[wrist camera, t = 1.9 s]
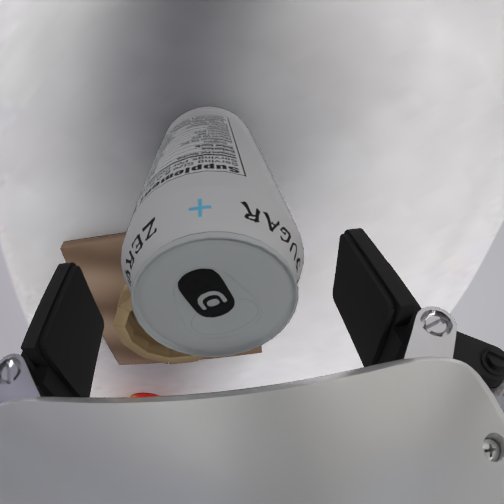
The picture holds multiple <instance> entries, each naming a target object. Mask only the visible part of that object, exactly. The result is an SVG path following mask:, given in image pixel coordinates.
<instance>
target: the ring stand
mask: <svg viewBox="0 0 504 504" xmlns="http://www.w3.org/2000/svg"><path fill="white" fill-rule="evenodd" d="M126 233H127V232H126ZM126 233H119V234H112V235H105V236H98V237H91V238H85V239H78V240H71V241H65V242H64V243H63V245H62V246H61V248H60V249H61V251H62V254H63V256H64V258H65V261H66V263H71V262H73V263H75V264H76V266H80V268H81V270H82V272H83V275H84V277H85V279H86V282H87V284H88V286H89V289H90V291H91V293H92V295H93V298H94V300H95V302H96V304H97V306H98V309H99V311H100V313H101V315H102V317H103V320H104V330H103V334H102V336H103V338H104V339H105V341H106V343H107V345H108V346H109V348H110V350H111V352H112V353H113V355H114V357H115V358H116V360H117V362H118V363H119V365H126V364H148V363H167V364H168V363H169V364H175V363H187V362H194V361H195V362H196V361H198V360H201V359H211V358H221V357H202V356H193V355H189V354H185V353H180V352H178V351H175V350H172V349H170V348H167V347H166V346H164V345H162V344H160V343H159V342H157V341H156V340H154V339H153V338H152V337H151V336H150V335H148V334H147V333H146V332H145V330H144V329H143V328H142V327H141V326H140V324H139V323H138V321H137V319H136V317H135V315H134V313H133V308H132V303H131V293H130V291H129V288H128V286H127V284H126V282H125V279H124V277H123V271H122V266H121V253H122V245H123V242H124V239H125V236H126ZM261 352H262V347H261V346H259V347H256V348H254V349H252V350H249V351H246V352H243V353H239V354H235V355H229V356H222V357H230V356H238V355H246V354H254V353H261Z"/></svg>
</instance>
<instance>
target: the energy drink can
mask: <svg viewBox="0 0 504 504" xmlns="http://www.w3.org/2000/svg"><path fill="white" fill-rule="evenodd" d="M303 263H304V248H303V244H302V240H301V236H300V233H299V231H298V229H297V226H296V224H295V222H294V220H293V218H292V216H291V214H290V212H289V210H288V207H287V205H286V203H285V201H284V199H283V197H282V195H281V193H280V191H279V189H278V187H277V185H276V183H275V181H274V179H273V177H272V175H271V173H270V171H269V169H268V167H267V165H266V163H265V161H264V159H263V157H262V155H261V153H260V151H259V149H258V147H257V145H256V143H255V141H254V139H253V137H252V135H251V133H250V131H249V130H248V128H247V126H246V125H245V123H244V122H243V121H242V120H241V119H240V118H239V117H238V116H236V115H235V114H233V113H232V112H230V111H227V110H225V109H222V108H218V107H200V108H195V109H192V110H190V111H187V112H185V113H184V114H182V115H181V116H179V117H178V118H177V119H176V120H175V121H174V122H173V123H172V124H171V125H170V127H169V128H168V130H167V132H166V134H165V136H164V139H163V141H162V143H161V145H160V148H159V150H158V152H157V155H156V157H155V159H154V162H153V164H152V167H151V169H150V172H149V174H148V177H147V179H146V182H145V184H144V187H143V189H142V192H141V194H140V197H139V200H138V202H137V205H136V208H135V211H134V213H133V216H132V219H131V222H130V225H129V227H128V230H127V233H126V236H125V239H124V242H123V245H122V253H121V266H122V271H123V277H124V279H125V282H126V284H127V286H128V288H129V291H130V293H131V303H132V308H133V313H134V315H135V317H136V319H137V321H138V323H139V324H140V326H141V327H142V328H143V329H144V330H145V332H146V333H147V334H148V335H150V336H151V337H152V338H153V339H154V340H156V341H157V342H159V343H160V344H162V345H164V346H166V347H167V348H170V349H172V350H175V351H178V352H180V353H185V354H189V355H193V356H202V357H222V356H229V355H235V354H239V353H243V352H246V351H249V350H252V349H254V348H256V347H259V346H261V345H263V344H264V343H266V342H268V341H269V340H271V339H272V338H274V337H275V336H276V335H277V334H278V333H280V332H281V331H282V330H283V329H284V327H285V326H286V325H287V324H288V323H289V321H290V319H291V318H292V316H293V314H294V312H295V309H296V306H297V302H298V285H297V284H298V281H299V279H300V275H301V271H302V267H303Z"/></svg>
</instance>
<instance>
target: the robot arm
mask: <svg viewBox="0 0 504 504" xmlns="http://www.w3.org/2000/svg"><path fill="white" fill-rule="evenodd" d="M333 299H334V302H335V304H336V306H337V308H338V310H339V312H340V315H341V317H342V319H343V321H344V323H345V325H346V328H347V330H348V332H349V334H350V336H351V339H352V341H353V343H354V345H355V347H356V350H357V352H358V354H359V356H360V359H361V361H362V363H363V366H364V367H363V368H359V369H354V370H350V371H345V372H340V373H335V374H330V375H325V376H320V377H315V378H310V379H304V380H299V381H293V382H287V383H281V384H275V385H268V386H261V387H254V388H246V389H239V390H230V391H221V392H211V393H201V394H189V395H174V396H156V397H127V398H89V397H90V391H91V386H92V381H93V376H94V371H95V366H96V361H97V356H98V352H99V347H100V343H101V339H102V334H103V330H104V320H103V317H102V315H101V313H100V311H99V309H98V306H97V304H96V302H95V300H94V298H93V295H92V293H91V291H90V289H89V286H88V284H87V282H86V279H85V277H84V275H83V272H82V270H81V268H80V266H76V264H75V263H73V262H71V263H63V264H59V265H58V267H57V269H56V271H55V273H54V275H53V277H52V279H51V281H50V283H49V285H48V287H47V289H46V291H45V293H44V295H43V297H42V299H41V301H40V304H39V306H38V308H37V310H36V312H35V315H34V317H33V319H32V321H31V324H30V326H29V328H28V331H27V333H26V336H25V338H24V341H23V343H22V346H21V349H22V350H23V352H22V354H21V356H20V355H19V354H10V355H7V356H5V357H4V358H3V359H1V360H0V504H504V351H502V350H501V349H500V348H498V347H496V346H493V345H490V344H488V343H485V342H483V341H480V340H478V339H475V338H473V337H470V336H468V335H465V334H463V333H460V332H458V331H457V326H456V325H457V324H456V322H455V319H454V318H453V317H452V316H451V314H449V313H448V312H447V311H445V310H443V309H441V308H438V307H425V308H422V309H421V307H420V306H419V304H418V303H417V301H416V300H415V298H414V297H413V296H412V294H411V293H410V291H409V290H408V288H407V287H406V286H405V284H404V283H403V281H402V280H401V279H400V277H399V276H398V275H397V273H396V272H395V270H394V269H393V268H392V266H391V265H390V264H389V263H388V262H387V260H386V259H385V258H384V256H383V255H382V254H381V252H380V251H379V250H378V249H377V247H376V246H375V245H374V243H373V242H372V241H371V239H370V238H369V237H368V236H367V234H366V233H365V232H364V230H363V229H361V228H358V229H349V230H346V231H345V233H344V234H342V235H341V236H340V241H339V249H338V257H337V265H336V273H335V280H334V287H333Z"/></svg>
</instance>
